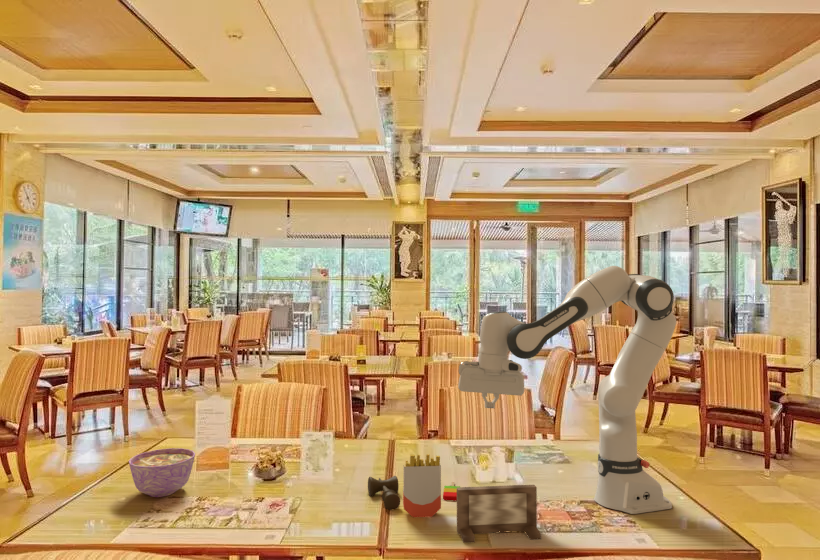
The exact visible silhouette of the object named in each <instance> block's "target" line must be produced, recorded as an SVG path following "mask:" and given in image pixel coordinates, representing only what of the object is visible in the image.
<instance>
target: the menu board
mask: <svg viewBox="0 0 820 560" xmlns="http://www.w3.org/2000/svg"><path fill="white" fill-rule="evenodd" d="M537 489H538V488H537V485H535V484H517V485H516V484H512V485H511V484H509V485H491V486H490V485H487V486H485V485H484V486H463V487H462V486H460V487H457V501H456V533H457V535H460V537H461V540H462V542H463V543H462V544H469V543H470V544H471V543H472V544H473V543H476V537H475V534H479V535H480V534H490V533H489V532H499V531H500V532H501V533H505V532H504V531H522V532H524V531H525V532H526V533H525V532H524V533H525V534H526V536H527V535H528V536H527V537H528V538H529V540H531V541H532V540H533V541H535V540H542V533H541V532H540V530H539V528H538V521H537V520H538V514H537V513H538V512H537V510H538V508H537V506H538V505H537V503H538V502H537V499H538V498H537V497H538V496H537V494H538V493H537V491H538V490H537Z"/></svg>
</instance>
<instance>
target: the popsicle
mask: <svg viewBox="0 0 820 560" xmlns="http://www.w3.org/2000/svg"><path fill="white" fill-rule="evenodd" d="M455 485H456V483H455V481H452V482H451V485H444V487H443V493H442V500H443V499H444V500H443V501H447V500H453V502H457V487H461V486H457V485H456V486H455Z"/></svg>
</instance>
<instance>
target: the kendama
mask: <svg viewBox="0 0 820 560" xmlns="http://www.w3.org/2000/svg"><path fill="white" fill-rule="evenodd" d="M399 485H400V484H399V479H398V477H397V476H396V475H394V476H392V477H390V478H388V479H381V478H380V477H379V478H378V479H376V478H374V477H372V476H369V477H368V480H367V491H368V495H369V497H373V496H375V495H376V494H378V493H379V492H383V493H382V494H381V500H382V501H383V506H384V507H385V509H386V510H388V511H393V510H392V509H394V510H397V509H398V508H399V506H400V505H401V498H400V496H399V495H398V493H399V487H400V486H399Z"/></svg>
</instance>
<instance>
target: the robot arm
mask: <svg viewBox="0 0 820 560" xmlns="http://www.w3.org/2000/svg"><path fill="white" fill-rule="evenodd" d="M674 299H675V297H674V291H673V289H672V287H671V286H670V285H669V284H668V283H667V282H666V281H664V280H662V279H659V278H656V277H655V276H650V275H642V274H640V273H639V274H638V273H630V274H629V273H628V272H627V271H626V270H625V269H623V268H622V267H620V266H618V265H610V266H607V267H605V268H603V269H601V270H597V271H596V272H594V273H592V274H591V275H588V276H586V277H585V278H584V279H582V280H581V281H579V282H578V283H576V285H573V287H572V288H571V289H570V290H569V291H568V292H567V293H566V295H565V297H564V299H563V301H562V302H561V303H560V304H559V305H558V306H557V307H556V308H554V309H552V310H551V311H550V312H548V313H546V314H544V316H542V317H540V318H538V319H537V320H535V321H533V322H529V323H525V322H522V321H520V320H518V319H517V318H516V317H513V316H512V315H510V314H509V313H508V312H507V311H503V310H501V311H493V312H488V313H486V314H485V315H484V316H483V318H482V320H481V324H480V333H479V340H480V348H479V351H478V361H468V360H467V361H466V360H465V361H464V362H461V363H459V364H458V365H459V366H458V374H459V378H458V383H457V386H458V389H459V391H461V392H466V393H477V394H478V393H480V394H481V397H482V399H483V401H484V409H495V408H496V403H497V402H498V400H499V399H500V395H507V396H519V397H521V396H523V394H525V377H524V375H523V373H522V372H521V371H522V370H523V366H522V364H520V363H518V362H515V361H513V360H511V359H508V353H509V352H510V353H511V354H512V355H513V356H515V357H516V358H519V359H521V360H522V359H524V360H528V359H532V358H534V357H536V356H537V355H538V354H539V353H540V352H541V350H542V349H543V347H544V346H545V345H546V343H547V341H549V340H550V339H551V338H553V337H554V336H556V335H557V334H559V333H561V332H562V331H563V330H564V329H566V328H568V327H569V326H571V325H572V324H575V323H577V322H579V321H583V320H585V319H589V318H591V317H593V316H595V315H596V316H597V314H599V313H601V312H603V311H604V310H606V309H607V308H609V307H611V306H613V305H614V304H616V303H618V302H621V303H622V304H624V305H626V306H628V307H630V308H631V309H633V310H635V311H637V319H636V323H635V325H634V326H633V328H632V329H631V332H630V333H629V334H628V337H627V338H626V340H625V342H624V344H623V345H622V348H620V350H619V352H618V355H617V357H616V360H615V362H614V365H613V367H612V368H611V370H610V372H609V374H608V375H605V376H604V377H603V378H602V379H601V380H600V382H599V385H598V388H597V389H598V391H597V394H598V396H597V397H598V431H599V433H598V435H599V438H598V439H599V441H598V442H599V445H598V446H599V453H598V454H597V455H598V456H597V471H598V477H597V478H598V480H597V487H596V490H595V493H594V497H593V499H594V501H595V503H597V504H599V505H600V506H602V507H605V508H608V509H612V510H614V511H615V510H616V511H621V512H623V513H627V514H631V515H636V514H637V515H638V514H644V513H651V512H657V511H658V512H659V511H665V510H671V509H672V508H673V505H672V502H671V501H670V499H669V498H668V497H666V496H664V491H663V487H662V485H661V484H660V482H659V481H658V480H657V479H655V477H653V476H652V475H650V474H649V473H648V472H646V471H645V470H644V468H645V469H648V468H649V467H650V462H648V460H645V459H641V458H640V457H638V431H637V420H636V419H637V417H636V416H637V415H636V410H637V408H638V406H639V404H640V402H641V399H642V398H643V395H644V394H645V391H646V389H647V387H648V384H649V382H650V379H651V377H652V375H653V372H654V371H655V369H656V368H657V365H658V364H659V361H660V360H661V359H662V356H663V355H664V353H665V351H666V349H667V348H668V346H669V344H670V342H671V340H672V337H673V334H674V331H675V329H676V326H677V318H676V317H675V315H674V313H673V304H674ZM488 394H491V395H492V394H493V397H494V398H493V399H492V401H488V400H487V397H488Z"/></svg>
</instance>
